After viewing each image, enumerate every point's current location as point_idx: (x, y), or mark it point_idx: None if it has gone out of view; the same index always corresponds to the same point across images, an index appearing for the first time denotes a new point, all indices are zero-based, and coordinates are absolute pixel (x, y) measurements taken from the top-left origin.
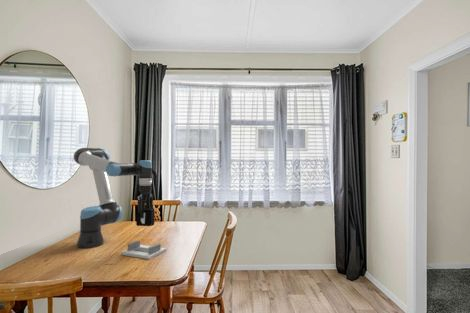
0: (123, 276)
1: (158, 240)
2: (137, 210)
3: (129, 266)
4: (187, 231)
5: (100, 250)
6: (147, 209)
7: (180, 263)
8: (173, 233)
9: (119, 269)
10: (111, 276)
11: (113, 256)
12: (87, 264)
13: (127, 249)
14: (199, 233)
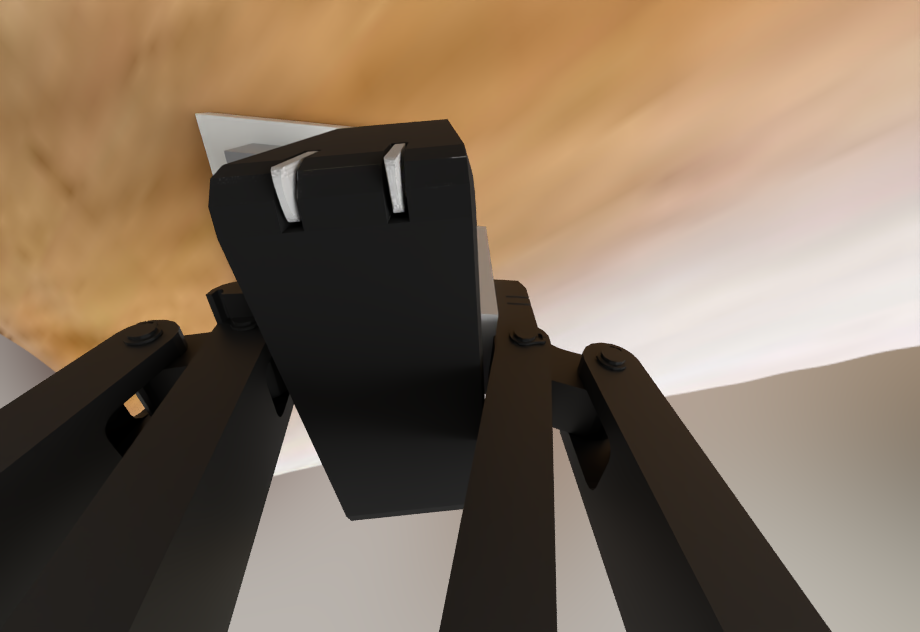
0: (63, 346)
1: (625, 182)
2: (225, 202)
3: (139, 304)
4: (914, 272)
5: None
6: (330, 479)
7: (310, 448)
8: (871, 189)
9: (79, 285)
10: (13, 304)
11: (142, 83)
12: None
13: (265, 126)
14: (814, 366)
